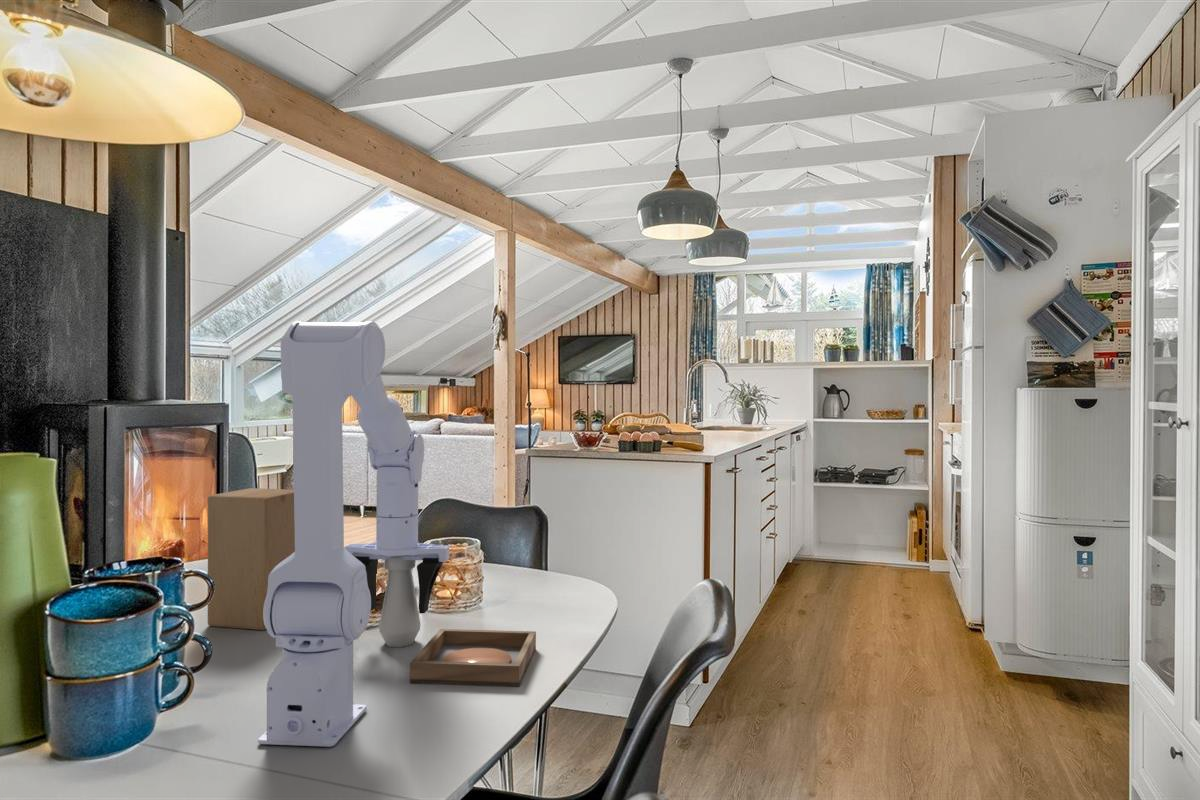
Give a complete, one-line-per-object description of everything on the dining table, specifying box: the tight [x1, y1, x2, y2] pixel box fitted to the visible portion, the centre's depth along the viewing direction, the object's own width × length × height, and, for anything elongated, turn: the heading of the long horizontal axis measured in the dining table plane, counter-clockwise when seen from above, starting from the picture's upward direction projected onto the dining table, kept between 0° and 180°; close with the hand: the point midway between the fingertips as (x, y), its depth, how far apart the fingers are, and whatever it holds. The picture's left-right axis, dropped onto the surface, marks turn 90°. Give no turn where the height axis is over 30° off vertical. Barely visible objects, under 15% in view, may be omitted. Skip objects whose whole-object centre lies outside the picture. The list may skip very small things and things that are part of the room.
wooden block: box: [207, 487, 295, 631], centre depth 120 cm, size 10×10×20 cm
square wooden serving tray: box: [409, 628, 537, 688], centre depth 101 cm, size 14×14×2 cm
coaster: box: [442, 648, 511, 664], centre depth 101 cm, size 9×9×1 cm
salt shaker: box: [378, 555, 421, 648], centre depth 109 cm, size 6×6×13 cm
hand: (397, 610), depth 108 cm, fingers open, 7 cm apart
